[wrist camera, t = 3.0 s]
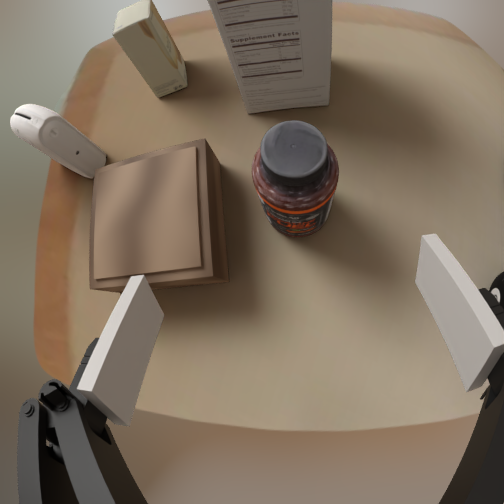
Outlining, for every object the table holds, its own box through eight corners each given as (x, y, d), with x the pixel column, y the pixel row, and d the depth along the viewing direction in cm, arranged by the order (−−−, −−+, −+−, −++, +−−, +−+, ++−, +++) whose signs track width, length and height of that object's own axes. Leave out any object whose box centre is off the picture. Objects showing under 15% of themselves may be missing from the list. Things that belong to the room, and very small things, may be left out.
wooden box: (220, 163, 30) (204, 136, 24) (229, 281, 27) (211, 275, 22) (120, 186, 31) (93, 168, 26) (119, 292, 29) (87, 288, 24)
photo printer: (113, 154, 33) (50, 101, 21) (95, 184, 32) (25, 140, 20) (72, 136, 35) (17, 94, 23) (57, 162, 35) (-2, 125, 23)
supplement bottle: (264, 239, 27) (238, 194, 16) (266, 179, 28) (243, 109, 17) (330, 239, 26) (347, 193, 15) (328, 178, 27) (338, 106, 16)
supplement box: (330, 107, 29) (336, -26, 12) (246, 116, 30) (200, -10, 14) (314, 52, 31) (307, -61, 14) (242, 60, 32) (206, -48, 16)
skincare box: (188, 87, 32) (149, 17, 21) (157, 99, 33) (110, 36, 21) (184, 58, 34) (150, -6, 22) (155, 69, 34) (116, 10, 23)
